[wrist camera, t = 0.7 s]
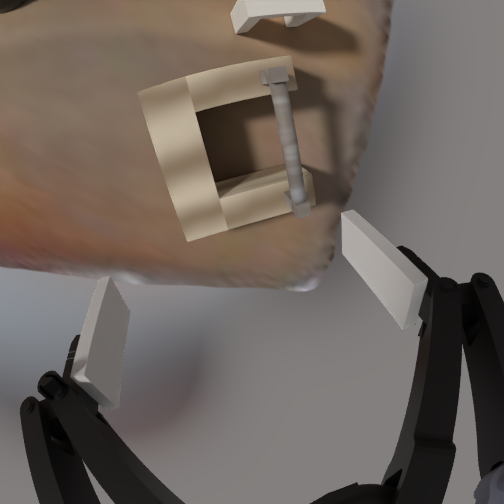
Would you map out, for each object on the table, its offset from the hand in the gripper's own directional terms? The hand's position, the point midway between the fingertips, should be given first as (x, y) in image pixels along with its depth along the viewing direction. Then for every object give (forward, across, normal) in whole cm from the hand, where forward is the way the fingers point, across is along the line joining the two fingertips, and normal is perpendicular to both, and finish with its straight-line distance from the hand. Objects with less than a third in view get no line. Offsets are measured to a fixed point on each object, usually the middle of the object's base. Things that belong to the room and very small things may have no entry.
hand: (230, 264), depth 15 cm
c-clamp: (+24, +3, +2) cm, 24 cm away
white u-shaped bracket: (+24, +11, +17) cm, 31 cm away
